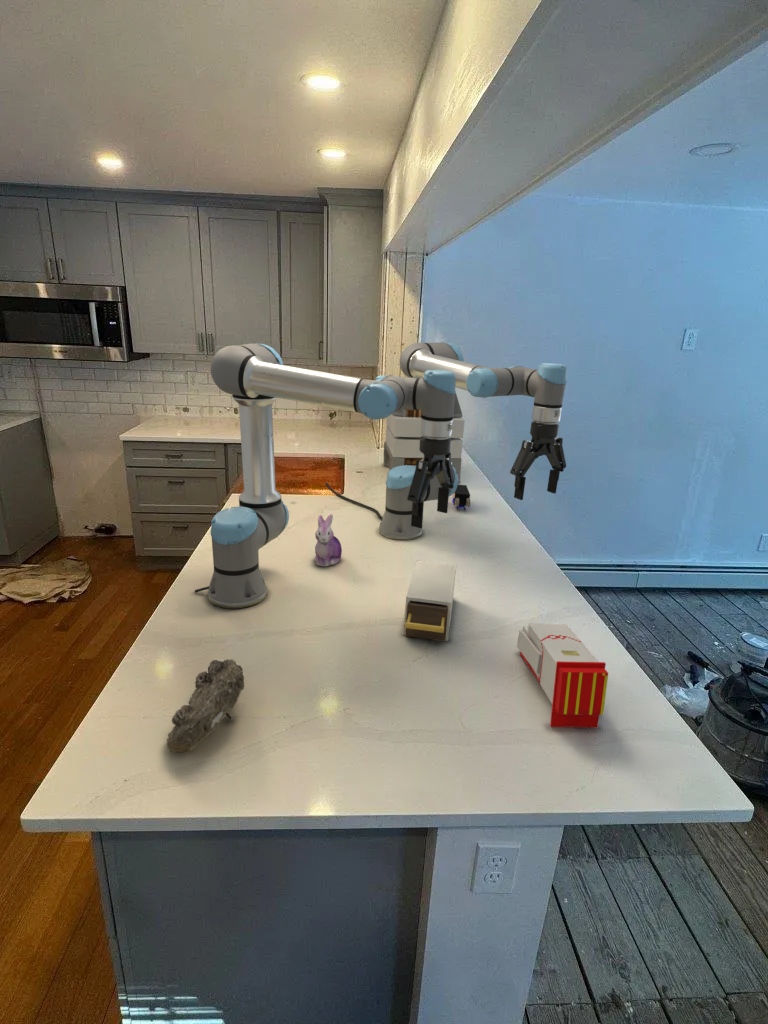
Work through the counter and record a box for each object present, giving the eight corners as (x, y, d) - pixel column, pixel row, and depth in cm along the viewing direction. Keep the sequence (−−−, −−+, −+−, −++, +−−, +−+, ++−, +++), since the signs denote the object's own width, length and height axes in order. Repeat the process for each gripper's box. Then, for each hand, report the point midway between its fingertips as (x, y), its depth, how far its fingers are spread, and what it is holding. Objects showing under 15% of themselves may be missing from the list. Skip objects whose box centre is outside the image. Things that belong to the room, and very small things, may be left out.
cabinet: (447, 640, 137) (451, 602, 133) (403, 634, 138) (406, 596, 135) (453, 599, 156) (456, 564, 153) (414, 594, 158) (416, 560, 154)
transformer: (382, 463, 289) (386, 382, 275) (445, 464, 293) (451, 384, 279) (390, 482, 257) (394, 392, 243) (460, 483, 261) (468, 394, 247)
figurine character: (470, 515, 225) (465, 499, 238) (472, 498, 221) (467, 483, 235) (453, 515, 224) (449, 499, 238) (455, 497, 221) (451, 482, 234)
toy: (562, 608, 134) (617, 669, 105) (557, 660, 137) (609, 734, 107) (511, 607, 134) (552, 667, 104) (507, 659, 136) (545, 733, 107)
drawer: (443, 654, 129) (446, 622, 126) (401, 649, 131) (403, 616, 128) (450, 601, 153) (453, 572, 150) (415, 597, 155) (417, 568, 152)
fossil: (192, 660, 117) (244, 628, 112) (224, 691, 120) (276, 661, 115) (142, 746, 98) (202, 712, 93) (182, 779, 101) (242, 748, 96)
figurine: (319, 569, 170) (319, 523, 165) (307, 556, 178) (307, 511, 173) (348, 564, 174) (349, 519, 169) (335, 552, 182) (336, 508, 177)
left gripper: (424, 448, 125) (418, 537, 132) (471, 431, 145) (464, 509, 152) (395, 442, 128) (391, 529, 136) (445, 426, 148) (439, 503, 155)
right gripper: (523, 427, 146) (513, 505, 153) (586, 421, 159) (574, 493, 166) (502, 422, 152) (494, 497, 159) (565, 416, 165) (554, 486, 172)
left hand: (429, 519), depth 144 cm, fingers open, 13 cm apart
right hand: (535, 495), depth 163 cm, fingers open, 13 cm apart
